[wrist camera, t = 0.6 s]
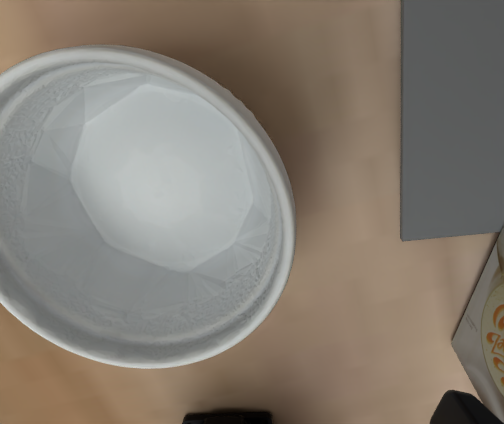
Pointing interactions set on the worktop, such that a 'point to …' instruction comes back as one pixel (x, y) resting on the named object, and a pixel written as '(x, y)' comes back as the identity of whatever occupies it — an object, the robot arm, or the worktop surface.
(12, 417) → the worktop surface
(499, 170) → the mat
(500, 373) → the coffee box
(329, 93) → the worktop surface
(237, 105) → the ramekin
